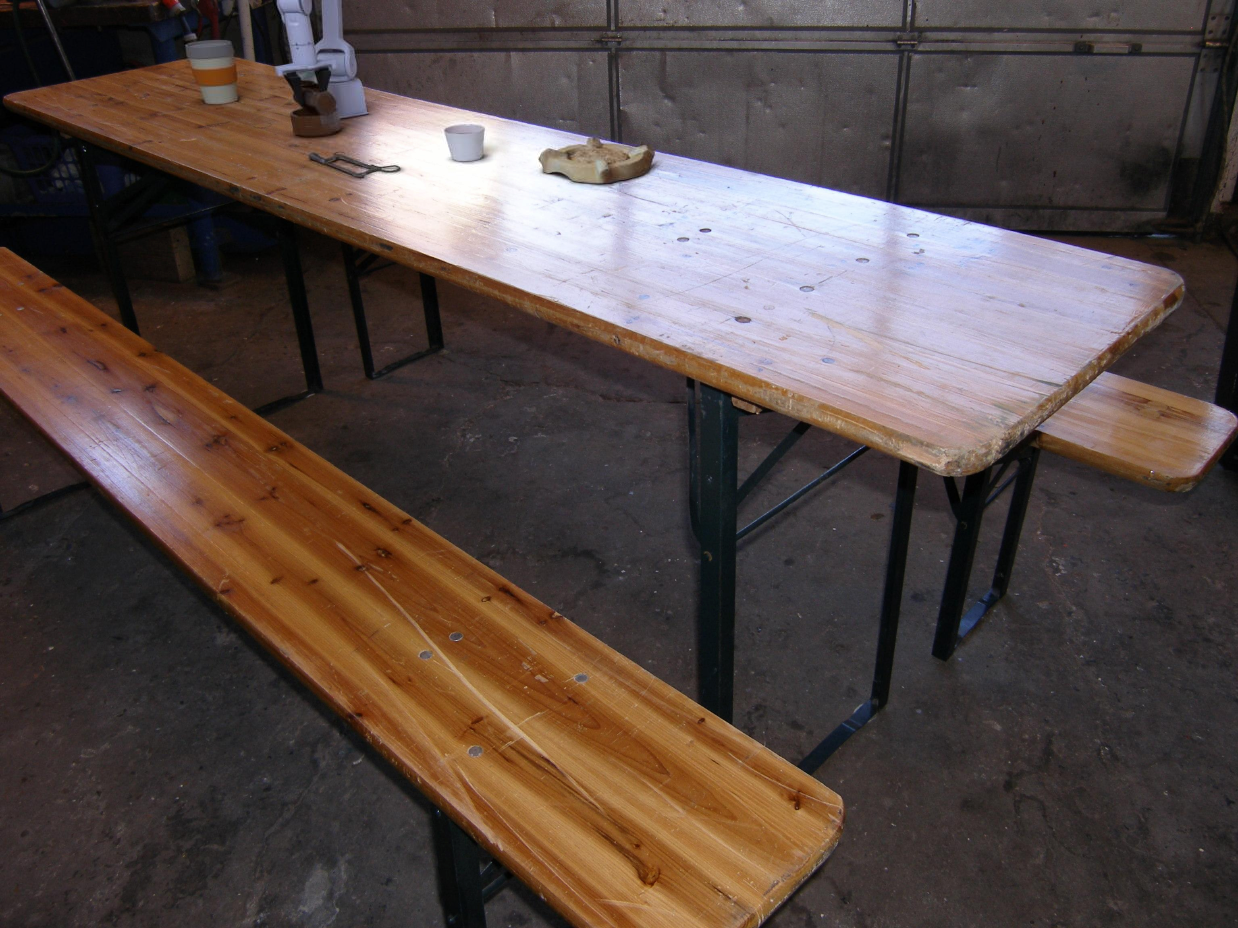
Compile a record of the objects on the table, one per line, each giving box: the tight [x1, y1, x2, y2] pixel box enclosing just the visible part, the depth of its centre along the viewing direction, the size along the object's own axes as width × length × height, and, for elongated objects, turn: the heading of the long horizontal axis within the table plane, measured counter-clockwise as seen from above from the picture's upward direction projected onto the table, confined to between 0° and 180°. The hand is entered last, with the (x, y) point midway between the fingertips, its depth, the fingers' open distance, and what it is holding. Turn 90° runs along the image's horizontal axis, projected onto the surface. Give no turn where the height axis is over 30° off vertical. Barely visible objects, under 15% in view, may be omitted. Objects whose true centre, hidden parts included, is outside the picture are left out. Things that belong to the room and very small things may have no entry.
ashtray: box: [537, 136, 656, 184], centre depth 207 cm, size 24×24×5 cm
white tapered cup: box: [443, 123, 486, 162], centre depth 217 cm, size 9×9×6 cm
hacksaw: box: [308, 151, 401, 178], centre depth 215 cm, size 24×10×2 cm, turn 44°
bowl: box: [289, 107, 342, 138], centre depth 240 cm, size 12×12×5 cm
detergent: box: [297, 69, 356, 87], centre depth 282 cm, size 13×7×25 cm
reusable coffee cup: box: [185, 39, 239, 105], centre depth 270 cm, size 13×13×15 cm
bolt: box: [292, 88, 337, 115], centre depth 237 cm, size 6×5×15 cm
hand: (312, 103), depth 237 cm, fingers closed on bolt, 5 cm apart
